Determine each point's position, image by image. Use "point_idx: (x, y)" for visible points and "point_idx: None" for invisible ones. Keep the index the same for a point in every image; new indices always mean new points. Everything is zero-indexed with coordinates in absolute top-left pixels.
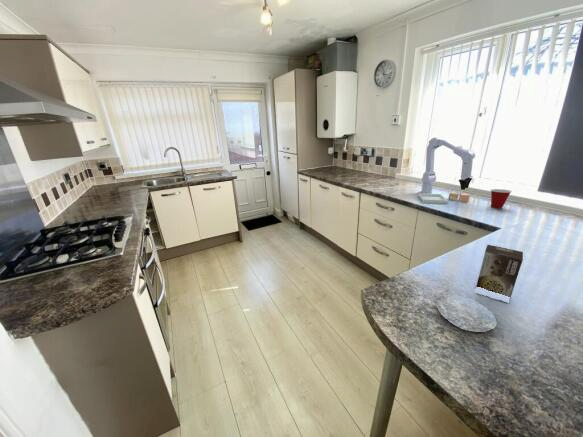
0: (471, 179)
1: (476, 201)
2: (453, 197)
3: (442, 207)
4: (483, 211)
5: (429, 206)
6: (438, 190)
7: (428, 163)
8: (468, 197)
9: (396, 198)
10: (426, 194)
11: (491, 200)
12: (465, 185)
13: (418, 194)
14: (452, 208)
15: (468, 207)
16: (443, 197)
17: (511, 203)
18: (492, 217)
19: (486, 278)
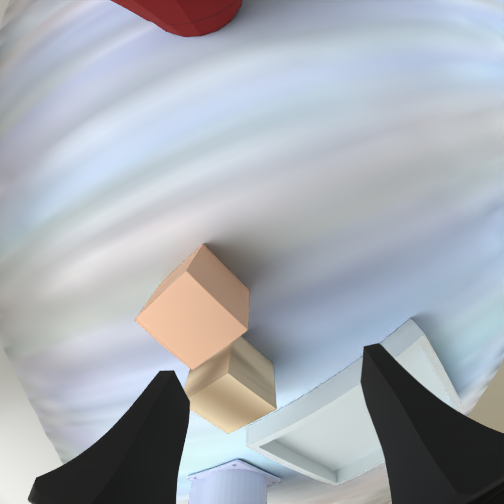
0: (68, 488)
1: (122, 199)
2: (260, 369)
3: (496, 288)
4: (413, 42)
5: (501, 337)
6: None
7: None
8: (198, 264)
9: None
10: (314, 470)
11: (220, 3)
12: (433, 394)
13: (339, 479)
14: (490, 236)
15: (404, 157)
16: (340, 402)
17: (18, 42)
18: (468, 3)
19: None
